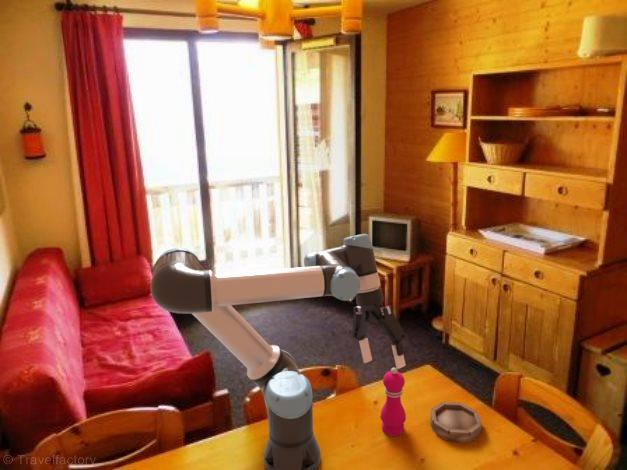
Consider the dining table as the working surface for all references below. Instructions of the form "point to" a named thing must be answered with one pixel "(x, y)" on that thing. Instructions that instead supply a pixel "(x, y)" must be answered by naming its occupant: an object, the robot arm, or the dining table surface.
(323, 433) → the dining table surface
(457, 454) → the dining table surface
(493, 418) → the dining table surface
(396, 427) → the pepper mill
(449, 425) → the bowl
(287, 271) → the robot arm
